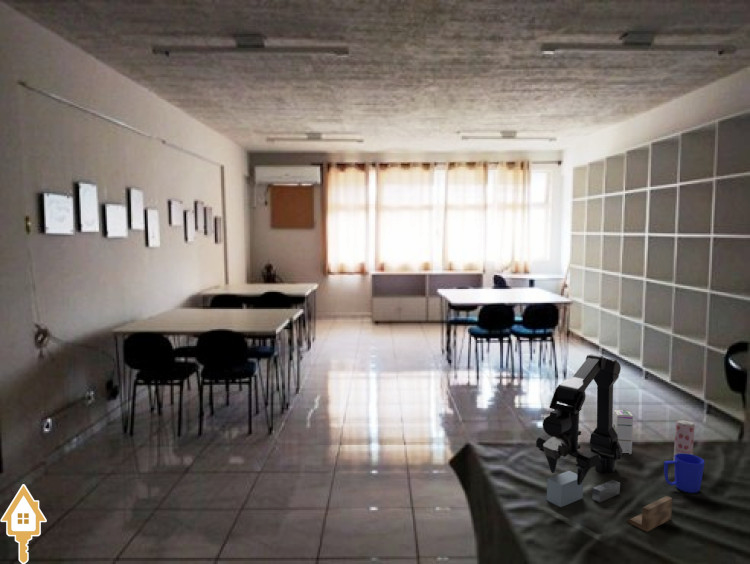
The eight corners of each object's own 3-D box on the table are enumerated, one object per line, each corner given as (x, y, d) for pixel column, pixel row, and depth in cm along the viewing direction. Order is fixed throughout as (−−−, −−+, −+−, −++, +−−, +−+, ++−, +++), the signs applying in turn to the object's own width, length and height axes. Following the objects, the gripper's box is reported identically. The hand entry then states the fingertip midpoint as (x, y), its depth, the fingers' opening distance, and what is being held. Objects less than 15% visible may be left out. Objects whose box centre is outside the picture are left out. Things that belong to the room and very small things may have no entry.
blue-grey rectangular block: (567, 495, 168) (569, 470, 168) (582, 502, 164) (583, 476, 164) (546, 504, 163) (547, 478, 162) (560, 511, 159) (561, 485, 158)
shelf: (584, 480, 178) (585, 462, 178) (670, 519, 155) (672, 498, 155) (560, 490, 172) (561, 470, 171) (646, 531, 149) (648, 509, 148)
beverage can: (685, 468, 189) (688, 425, 187) (669, 462, 194) (672, 420, 192) (695, 464, 192) (698, 423, 190) (679, 458, 197) (682, 418, 195)
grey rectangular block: (612, 490, 169) (612, 479, 169) (619, 493, 167) (620, 482, 167) (592, 499, 164) (592, 487, 163) (599, 502, 162) (600, 491, 161)
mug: (655, 483, 177) (657, 453, 176) (691, 482, 178) (693, 452, 177) (671, 496, 169) (673, 464, 168) (708, 495, 170) (710, 463, 169)
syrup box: (632, 454, 200) (634, 415, 199) (614, 453, 201) (617, 414, 200) (628, 448, 206) (630, 410, 204) (611, 446, 207) (613, 409, 205)
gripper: (524, 422, 165) (522, 473, 166) (578, 443, 149) (575, 498, 151) (549, 416, 171) (547, 464, 172) (603, 435, 155) (600, 488, 157)
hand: (565, 478), depth 163 cm, fingers open, 9 cm apart
